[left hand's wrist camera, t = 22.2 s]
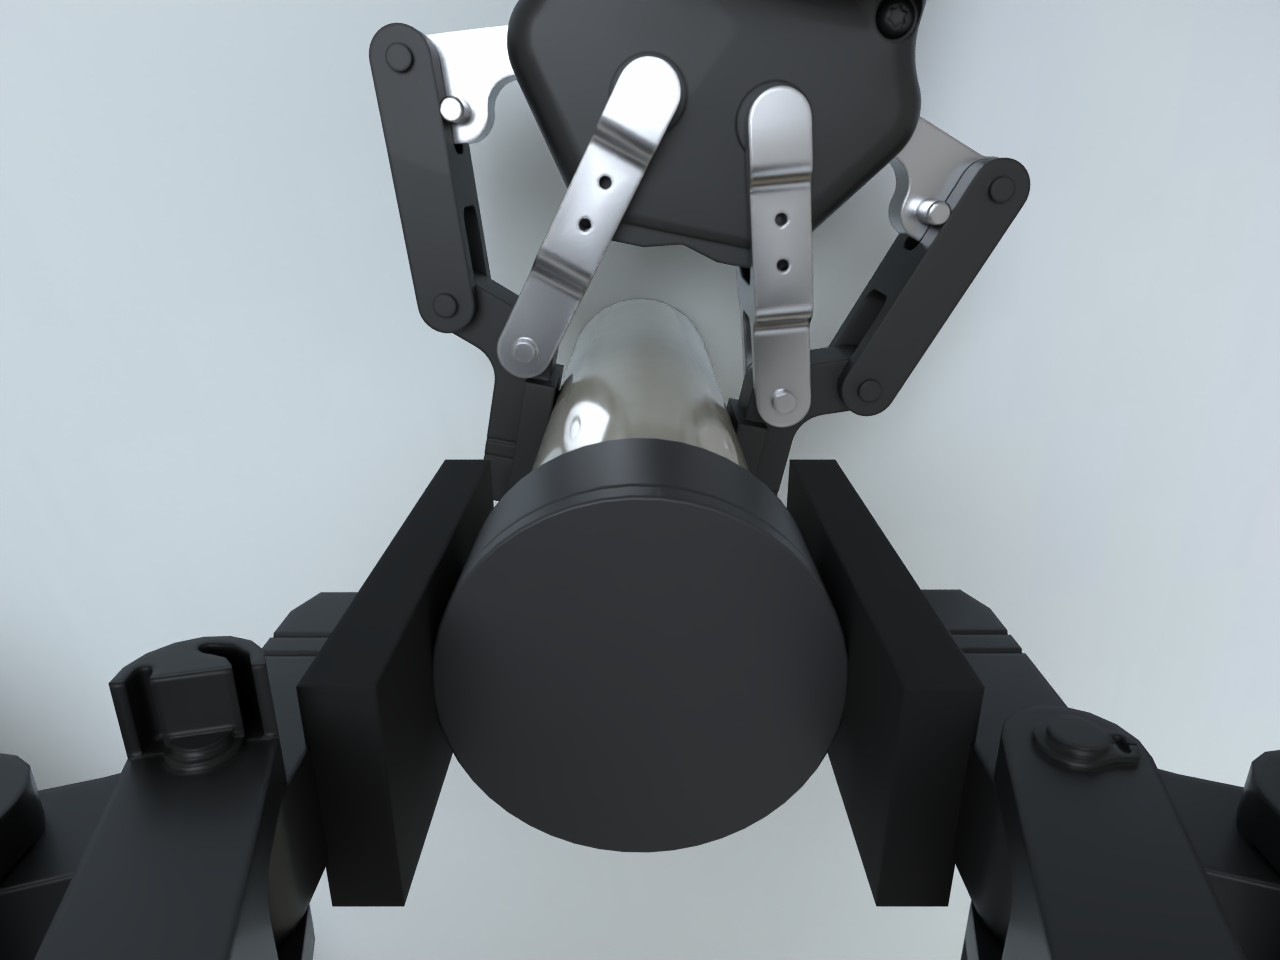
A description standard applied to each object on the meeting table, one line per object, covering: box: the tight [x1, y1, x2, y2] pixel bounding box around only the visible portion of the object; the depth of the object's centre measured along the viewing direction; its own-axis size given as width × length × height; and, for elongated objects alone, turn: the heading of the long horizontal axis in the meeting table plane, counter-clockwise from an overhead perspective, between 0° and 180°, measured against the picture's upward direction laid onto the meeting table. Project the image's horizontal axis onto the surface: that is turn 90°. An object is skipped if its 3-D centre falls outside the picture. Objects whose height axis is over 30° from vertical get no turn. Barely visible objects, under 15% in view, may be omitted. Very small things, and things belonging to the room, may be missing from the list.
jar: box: [531, 299, 749, 472], centre depth 19 cm, size 4×4×16 cm
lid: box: [432, 438, 848, 852], centre depth 11 cm, size 5×5×2 cm
